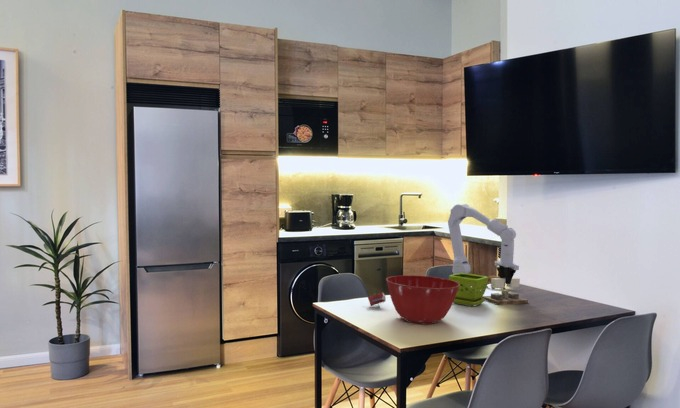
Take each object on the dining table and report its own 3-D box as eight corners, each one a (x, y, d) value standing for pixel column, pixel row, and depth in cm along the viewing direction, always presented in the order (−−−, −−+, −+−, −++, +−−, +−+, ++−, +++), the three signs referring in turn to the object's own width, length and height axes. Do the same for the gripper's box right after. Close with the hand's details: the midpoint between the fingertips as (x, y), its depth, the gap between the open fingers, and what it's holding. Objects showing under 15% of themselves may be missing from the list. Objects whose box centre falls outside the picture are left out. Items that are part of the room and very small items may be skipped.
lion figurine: (506, 287, 296) (507, 270, 295) (512, 289, 291) (513, 272, 290) (481, 287, 292) (482, 270, 292) (486, 289, 287) (487, 272, 286)
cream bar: (495, 288, 254) (495, 279, 254) (490, 286, 257) (491, 278, 256) (519, 287, 259) (519, 278, 259) (515, 285, 262) (515, 277, 262)
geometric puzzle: (364, 302, 233) (376, 288, 233) (364, 299, 240) (375, 285, 240) (377, 313, 233) (389, 298, 233) (376, 309, 240) (388, 295, 240)
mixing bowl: (409, 307, 236) (411, 272, 236) (470, 320, 218) (472, 281, 218) (370, 318, 214) (372, 279, 214) (434, 333, 196) (436, 290, 196)
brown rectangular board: (498, 304, 249) (498, 294, 249) (481, 299, 260) (482, 288, 260) (527, 303, 256) (528, 292, 256) (510, 297, 267) (511, 287, 267)
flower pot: (475, 308, 240) (476, 279, 240) (446, 303, 249) (447, 275, 248) (488, 303, 251) (489, 276, 251) (459, 298, 260) (461, 272, 259)
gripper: (524, 256, 252) (523, 285, 253) (503, 251, 266) (502, 279, 266) (512, 256, 249) (510, 286, 250) (491, 252, 263) (490, 280, 263)
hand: (505, 283), depth 258 cm, fingers closed on cream bar, 3 cm apart
